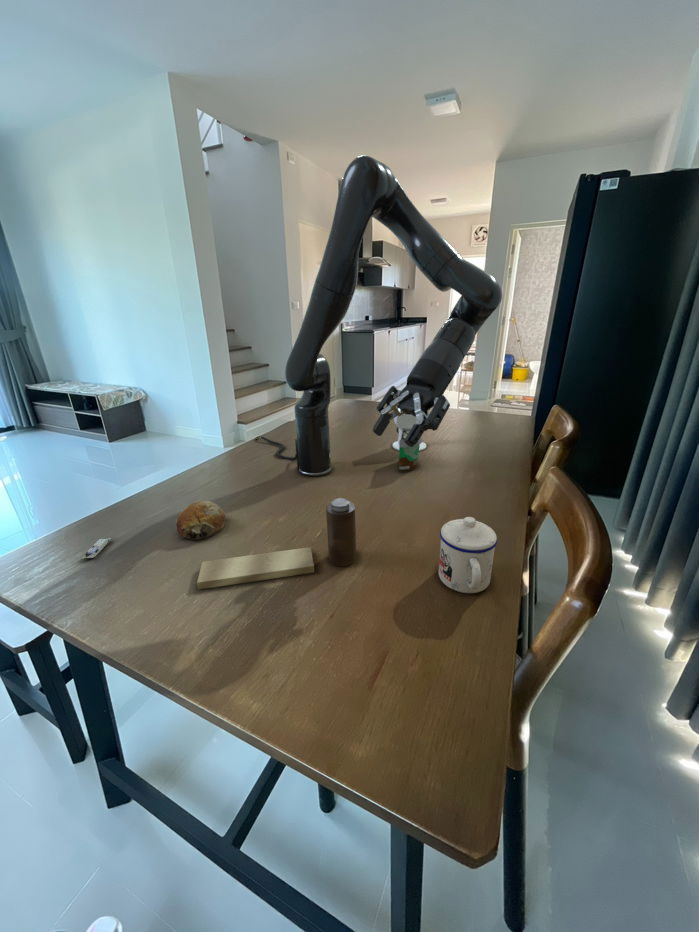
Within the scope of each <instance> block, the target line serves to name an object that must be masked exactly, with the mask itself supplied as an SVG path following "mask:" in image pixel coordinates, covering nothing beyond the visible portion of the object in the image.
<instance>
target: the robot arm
mask: <svg viewBox="0 0 699 932" xmlns="http://www.w3.org/2000/svg"><path fill="white" fill-rule="evenodd" d="M371 218H374V219H375V220H376V221H378V222H379V223H380V224H382V225H383V226H384V227H386V228H387V229H388V230H389V231H391V233H392V234H393V235H394V236H395V237H396V238H397V239H398V240H399V242H400V243H401V245H402V246H403V248H404V249H405V251H406V252H407V254H408V256H409V258H410V259H411V261H412V262H413V263H414V265H415V266H416V267H417V268H418V270H419V271H420V272H421V273H422V275H424V277H426V279H428V281H429V282H430V283H431V284H432V286H434V288H436V289H437V290H438V291H439V292H442V293H446V292H449V291H451V290H454V291H455V292H456V293H458V294H459V295H460V297H459V298H458V300H457V302H456V303H455V305H454V307H453V308H452V310H451V311H450V314H449V315H448V317H447V319H446V321H445V322H444V323H443V324H442V325H441V327H440V329H438V331H437V333H436V334H435V336H434V337H433V339H432V340H431V342H430V343H429V345H428V346H427V347H426V348H425V349H424V350H423V351H422V354H421V355H420V357H419V358H418V360H417V361H416V363H415V364H414V366H413V368H412V369H411V371H410V372H409V374H408V375H407V377H406V385H405V386H404V387H403V388H402V389H397V387H396V386H395V385H392V386H390V388H389V389H388V390H387V392H386V393H385V395H384V396H383V397H382V399H381V400H380V402H379V403H378V405H376V411H377V412H378V413H379V414H380V416H379V417H378V419H377V420H376V421H375V424H373V427H372V432H373V433H374V434H375V435H376V436H378V437H381V436H382V435H383V434H384V432H385V431H386V429H387V428H388V426H389V425H390V423H391V421H392V420H394V418H395V417H396V416H401V415H403V414H404V413H405V414H407V415H413V416H415V417H416V422H417V425H416V424H414V425H413V427H412V428H411V430H410V431H409V433H408V435H407V436H406V438H405V440H404V442H405V443H406V444H407V445H408V446H410V447H413V446H414V445H415V444H416V443H417V442H418V441H419V439H420V437H421V436H423V434H424V433H425V432H427V431H428V430H432V431H433V432H434V431H437V430H438V429H439V427H440V425H441V423H442V421H443V420H444V417H445V416H446V414H447V413H448V410H449V408H450V407H451V403H450V402H449V400H448V399H447V397H446V396H445V395H444V393H445V392H446V390H447V389H448V387H449V386H450V384H451V382H452V381H453V379H454V377H455V376H456V374H457V373H458V371H459V369H460V367H461V364H462V363H463V360H464V359H465V357H466V356H467V354H468V353H469V351H470V349H471V348H472V346H473V345H474V342H475V339H476V336H477V334H478V332H479V331H480V329H481V328H482V326H483V325H484V324H485V323H486V322H487V320H488V319H489V318H490V316H491V315H492V314H494V312H495V311H496V310H497V309H498V307H499V306H500V304H501V302H502V300H503V291H502V288H501V286H500V284H499V282H498V281H497V279H496V278H495V277H494V276H493V275H492V274H490V273H488V272H486V271H485V270H484V269H482V268H480V267H478V266H477V265H475V264H473V263H472V262H470V261H467V260H466V259H464V257H462V256H461V254H460V253H459V252H458V251H457V249H455V248H454V246H452V244H451V243H450V242H449V241H448V240H447V239H446V238H445V237H444V236H443V235H442V234H441V233H440V232H439V231H438V230H437V229H436V228H435V227H434V226H433V225H432V223H430V222H429V221H428V220H427V219H426V218H425V217H424V216H423V215H422V213H421V212H420V211H419V210H418V208H417V207H416V205H415V204H414V203H413V202H412V201H411V198H409V196H408V195H407V193H406V191H405V190H404V189H403V187H402V186H401V183H400V182H399V179H397V177H396V176H395V174H394V172H393V171H392V169H391V168H390V167H389V166H388V165H387V164H385V163H383V162H381V161H380V160H378V159H376V158H374V157H371V156H370V155H360V156H356V157H355V158H354V159H352V161H351V162H350V163H349V164H348V165H347V168H346V169H345V171H344V173H343V176H342V179H341V181H340V186H339V190H338V195H337V199H336V205H335V210H334V215H333V220H332V224H331V228H330V231H329V235H328V238H327V242H326V245H325V249H324V251H323V255H322V258H321V262H320V266H319V267H318V268H319V269H318V272H317V274H316V276H315V280H314V284H313V287H312V290H311V293H310V297H309V301H308V304H307V308H306V311H305V314H304V317H303V320H302V322H301V326H300V328H299V331H298V335H297V337H296V339H295V342H294V344H293V346H292V348H291V351H290V353H289V356H288V358H287V361H286V363H285V366H284V378H285V382H286V384H287V386H288V387H289V388H290V389H291V390H293V391H294V392H302V395H301V397H300V398H299V400H298V401H297V402H295V404H294V407H293V408H294V417H295V418H294V419H295V429H296V439H294V445H295V454H294V456H285V455H282V454H279V453H280V452H281V451H283V450H284V449H285V445H284V444H283V443H281V442H278V441H274V440H271V439H268V438H266V437H265V436H262V437H261V438H258V437H260V436H261V435H259V436H255V439H254V440H255V441H257V440H259V439H262V440H264V441H266V442H268V443H271V444H273V445H277V446H280V448H279V449H277V451H276V452H275V455H276V456H277V457H278V458H281V459H283V460H296V466H297V467H296V469H297V470H298V471H299V473H300V474H301V475H303V476H305V477H321V476H325V475H327V474H329V473H331V471H332V461H331V459H332V451H331V441H330V421H329V419H330V418H329V406H330V403H331V393H332V392H331V390H332V389H331V387H332V385H331V384H332V383H331V382H332V381H331V379H332V378H331V368H330V365H329V364H330V363H329V361H328V360H327V358H326V357H325V356H324V355H323V354H321V351H322V349H323V347H324V345H325V343H326V342H327V340H329V338H330V337H331V336H332V335H333V333H334V332H335V331H336V330H337V328H338V327H339V325H340V324H341V323H342V321H343V320H344V318H345V317H346V315H347V313H348V311H349V309H350V306H351V303H352V300H353V298H354V295H355V293H356V289H357V284H358V279H359V278H358V276H359V254H360V250H361V249H360V248H361V244H362V242H363V238H364V235H365V232H366V229H367V228H368V225H369V222H370V220H371ZM398 404H399V407H400V409H398V408H397V405H398ZM429 409H430V410H429ZM429 411H430V413H429ZM256 438H258V439H256Z"/></svg>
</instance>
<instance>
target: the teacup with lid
mask: <svg viewBox="0 0 699 932" xmlns="http://www.w3.org/2000/svg"><path fill="white" fill-rule="evenodd" d="M439 537H440V548H439V560H438V577H439V580H440V581H441V582H442V583H443V584H444V585H445V586H446V587H447V588H449V589H451V590H453V591H456V592H458V593H462V594H476V593H480V592H482V591H483V592H484V591H485V590H486V589H487V588H488V587H489V586H490V583H491V577H492V569H493V564H494V563H493V562H494V555H495V549H496V547H497V544H498V537H497V534H496V532H495V531H494V530H493V528H491V527H490V526H489V525H487V524H485V523H484V522H481V521H479V520H478V521H477V519H476V518H475V517H472V516H466V517H464V518H458V519H452V520H450V521H448V522H445V523H444V524H443V526H442V527H441V529H440V531H439Z"/></svg>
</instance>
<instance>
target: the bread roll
mask: <svg viewBox="0 0 699 932" xmlns="http://www.w3.org/2000/svg"><path fill="white" fill-rule="evenodd" d="M225 524H226V514H225V512H224V510H223V509H222V508H221V507H220V506H219V505H218V504H217V503H214V502H212V501H209V500H193V501H191V503H189V504H188V505H187V506H185V507H184V509H182V510H181V511H180V512H179V514H178V516H177V519H176V530H177V533H178V535H179V536H180V537H182V538H183V539H188V540H192V541H193V540H197V541H198V540H202V539H206V538H210V537H211V536H214V535H215V534H219V533H220V532H221V530H222V529H223V528H224V527H225Z"/></svg>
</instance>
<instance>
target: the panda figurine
mask: <svg viewBox="0 0 699 932" xmlns="http://www.w3.org/2000/svg"><path fill="white" fill-rule="evenodd" d="M397 408H398V409H400V407H399V404H398V405H397ZM428 411H431V408H430V409H429V410H428ZM393 421H394V424H395V425H396V430H395V431H396V433H398V436H397V440H396V441H394V442H393V443H392V448H393V449H395V450H397V451H399V442H400V440H401V436H402V430H403V428H409V429H411V428H412V427H413V425H414V424H416V425H417V422H416V417H415V416H413V415H407V414H405V413H404V414H403V415H401V416H396V417H395V418H393ZM426 448H427V443H425V442H423V441H422V443H421V444H420V447H419V452H420V451H424V450H425V449H426Z"/></svg>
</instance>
